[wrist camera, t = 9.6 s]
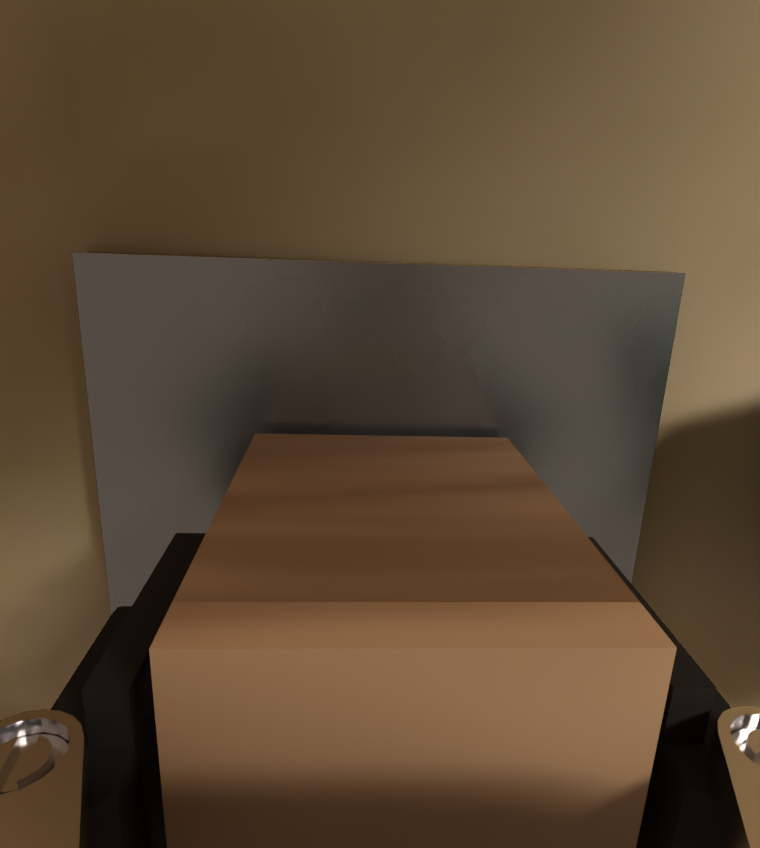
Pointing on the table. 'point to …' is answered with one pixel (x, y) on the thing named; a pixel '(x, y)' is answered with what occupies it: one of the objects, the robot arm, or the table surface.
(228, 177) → the table surface
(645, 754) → the tan cardboard carton
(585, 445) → the grey base plate
